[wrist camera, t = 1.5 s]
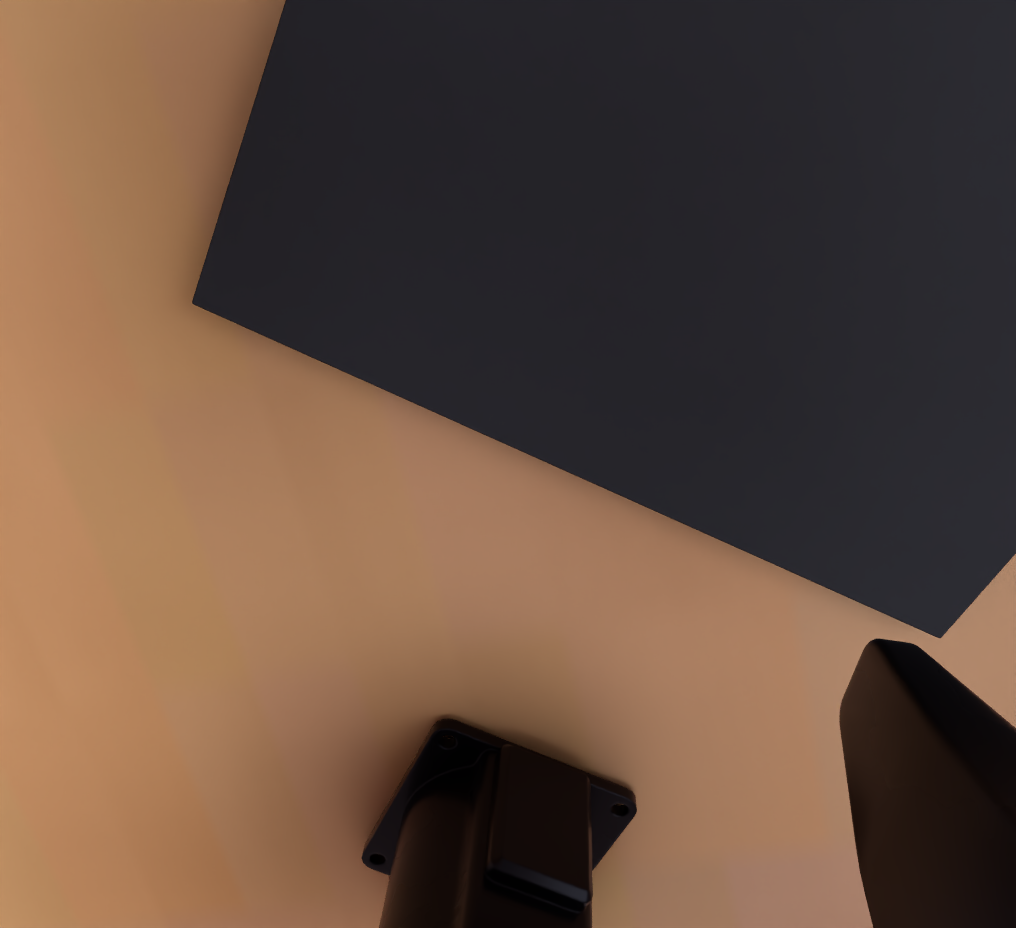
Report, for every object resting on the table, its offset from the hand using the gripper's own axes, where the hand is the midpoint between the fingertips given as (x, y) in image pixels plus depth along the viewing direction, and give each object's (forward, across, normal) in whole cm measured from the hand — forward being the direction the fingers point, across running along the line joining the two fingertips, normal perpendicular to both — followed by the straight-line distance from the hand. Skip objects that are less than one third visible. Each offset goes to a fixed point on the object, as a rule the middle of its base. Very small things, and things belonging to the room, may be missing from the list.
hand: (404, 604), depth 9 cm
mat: (+13, -6, -3) cm, 15 cm away
